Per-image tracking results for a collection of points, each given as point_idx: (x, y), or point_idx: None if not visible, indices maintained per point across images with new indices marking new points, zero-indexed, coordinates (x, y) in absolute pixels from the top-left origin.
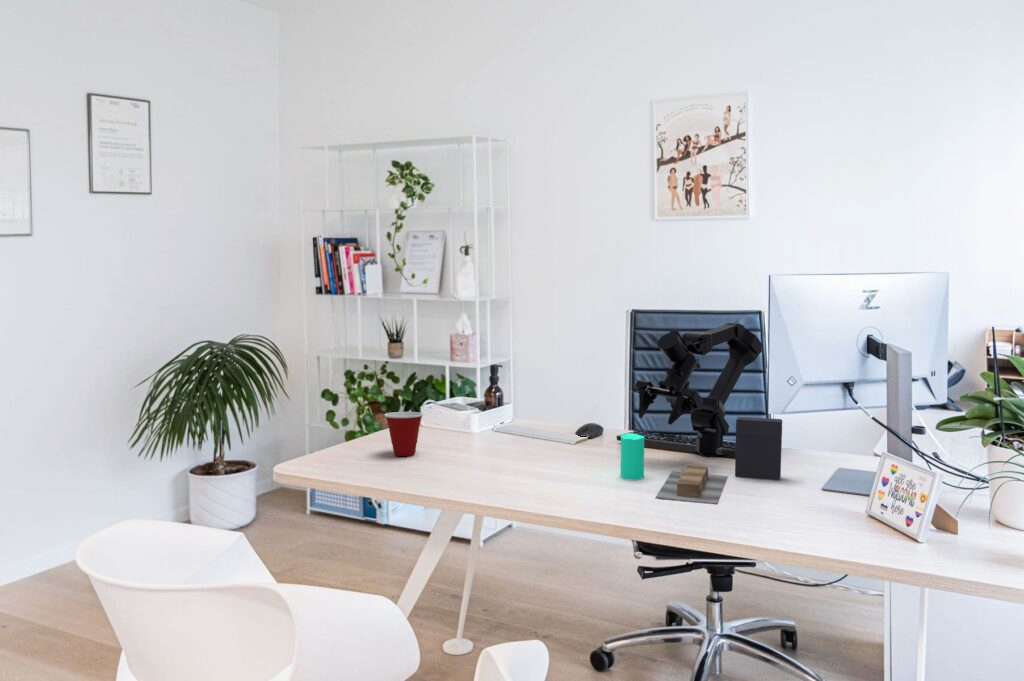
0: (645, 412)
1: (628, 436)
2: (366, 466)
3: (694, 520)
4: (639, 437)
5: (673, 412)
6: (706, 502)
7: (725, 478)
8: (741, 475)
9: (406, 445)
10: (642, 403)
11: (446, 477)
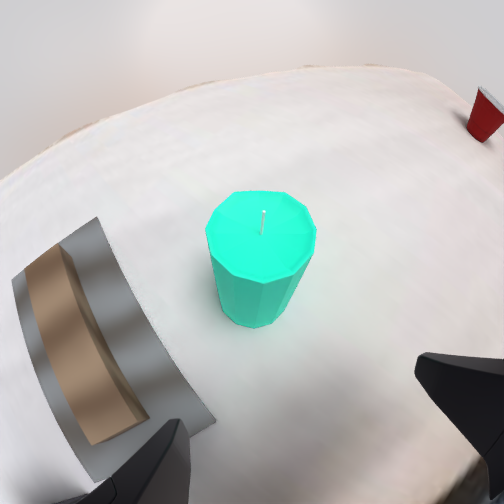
0: (443, 412)
1: (296, 238)
2: (435, 96)
3: (21, 200)
4: (250, 263)
5: (131, 464)
6: (23, 270)
7: (80, 459)
8: (76, 497)
9: (471, 118)
10: (488, 372)
11: (384, 99)
